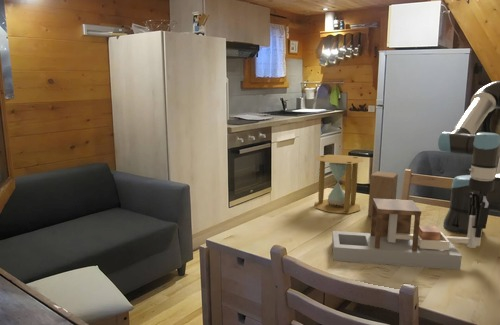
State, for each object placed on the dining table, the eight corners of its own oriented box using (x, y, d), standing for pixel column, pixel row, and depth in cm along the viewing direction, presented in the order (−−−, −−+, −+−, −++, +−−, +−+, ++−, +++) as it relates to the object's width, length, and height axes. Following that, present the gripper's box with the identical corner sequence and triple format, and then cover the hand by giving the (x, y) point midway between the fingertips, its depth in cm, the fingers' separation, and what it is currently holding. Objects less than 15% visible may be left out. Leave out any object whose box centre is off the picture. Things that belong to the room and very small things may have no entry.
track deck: (446, 250, 156) (447, 238, 155) (460, 269, 140) (461, 255, 139) (332, 243, 162) (332, 231, 161) (333, 260, 147) (334, 247, 146)
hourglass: (366, 204, 212) (370, 156, 207) (353, 217, 193) (356, 164, 188) (323, 197, 223) (325, 152, 218) (306, 208, 205) (308, 159, 200)
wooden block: (394, 214, 197) (398, 173, 193) (389, 220, 189) (392, 177, 185) (373, 210, 202) (376, 170, 198) (367, 216, 194) (370, 174, 190)
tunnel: (409, 237, 156) (412, 199, 153) (417, 251, 142) (421, 211, 140) (370, 234, 158) (372, 197, 155) (375, 248, 145) (378, 209, 142)
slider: (469, 241, 151) (473, 212, 148) (479, 252, 141) (483, 221, 139) (385, 236, 155) (387, 207, 153) (390, 246, 146) (392, 216, 144)
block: (434, 242, 151) (435, 226, 150) (438, 248, 145) (440, 232, 144) (416, 241, 152) (418, 225, 151) (420, 247, 146) (422, 231, 145)
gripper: (462, 172, 149) (455, 234, 154) (478, 183, 134) (470, 251, 139) (485, 173, 148) (477, 236, 153) (503, 184, 133) (494, 253, 138)
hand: (473, 243), depth 146 cm, fingers closed on slider, 2 cm apart
